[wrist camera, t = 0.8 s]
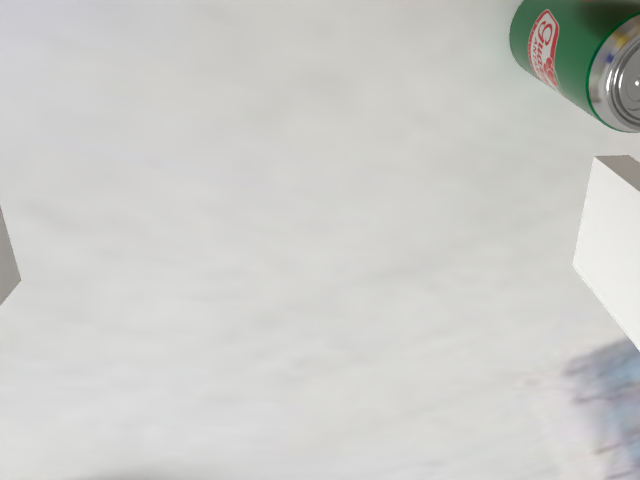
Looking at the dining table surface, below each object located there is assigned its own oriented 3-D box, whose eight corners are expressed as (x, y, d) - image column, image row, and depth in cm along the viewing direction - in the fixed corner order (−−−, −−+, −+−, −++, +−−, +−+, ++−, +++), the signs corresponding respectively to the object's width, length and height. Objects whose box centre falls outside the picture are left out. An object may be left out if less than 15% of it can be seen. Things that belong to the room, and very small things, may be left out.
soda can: (496, 2, 33) (586, 41, 23) (587, -36, 33) (725, -13, 22) (517, 87, 36) (608, 159, 25) (603, 53, 35) (735, 113, 24)
